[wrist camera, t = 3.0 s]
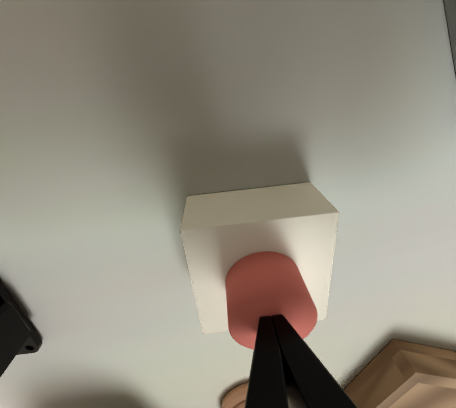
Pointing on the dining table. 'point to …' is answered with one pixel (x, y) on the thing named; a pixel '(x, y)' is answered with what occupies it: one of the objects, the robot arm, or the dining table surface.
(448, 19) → the grey flat panel
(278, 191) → the white square base
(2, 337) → the robot arm
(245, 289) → the button
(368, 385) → the wooden tray
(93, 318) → the dining table surface
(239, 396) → the domed saucer
